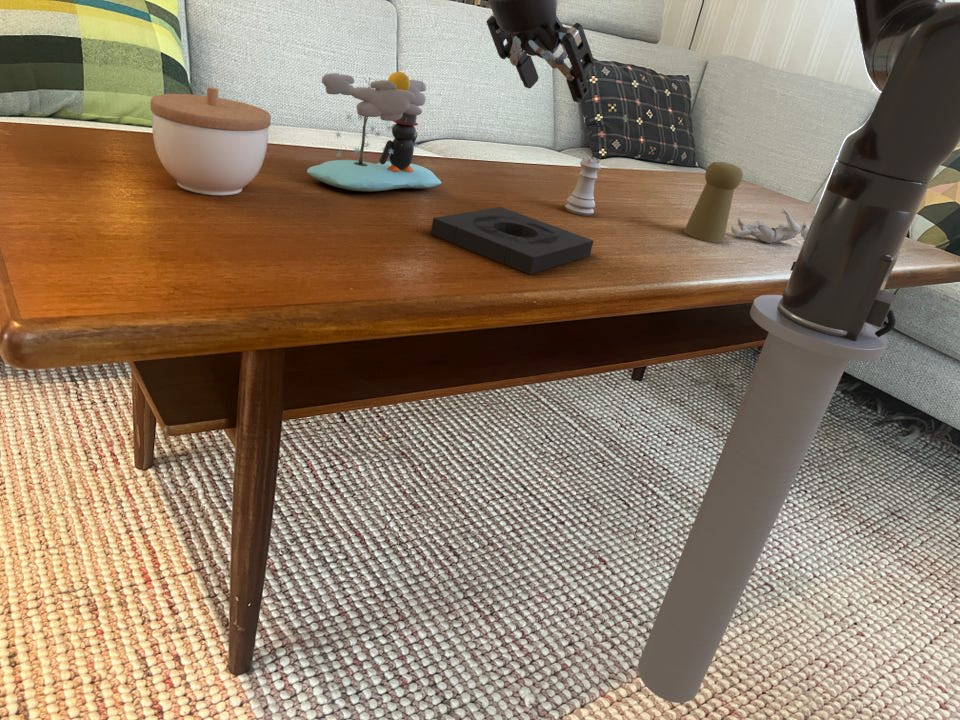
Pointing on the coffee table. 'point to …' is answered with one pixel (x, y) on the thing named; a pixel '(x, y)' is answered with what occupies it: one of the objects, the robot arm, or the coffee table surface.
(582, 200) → the rook chess piece
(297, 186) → the coffee table surface
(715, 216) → the brown game pawn
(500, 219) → the pad
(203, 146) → the lidded bowl
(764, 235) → the soldier figure
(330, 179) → the penguin figurine
